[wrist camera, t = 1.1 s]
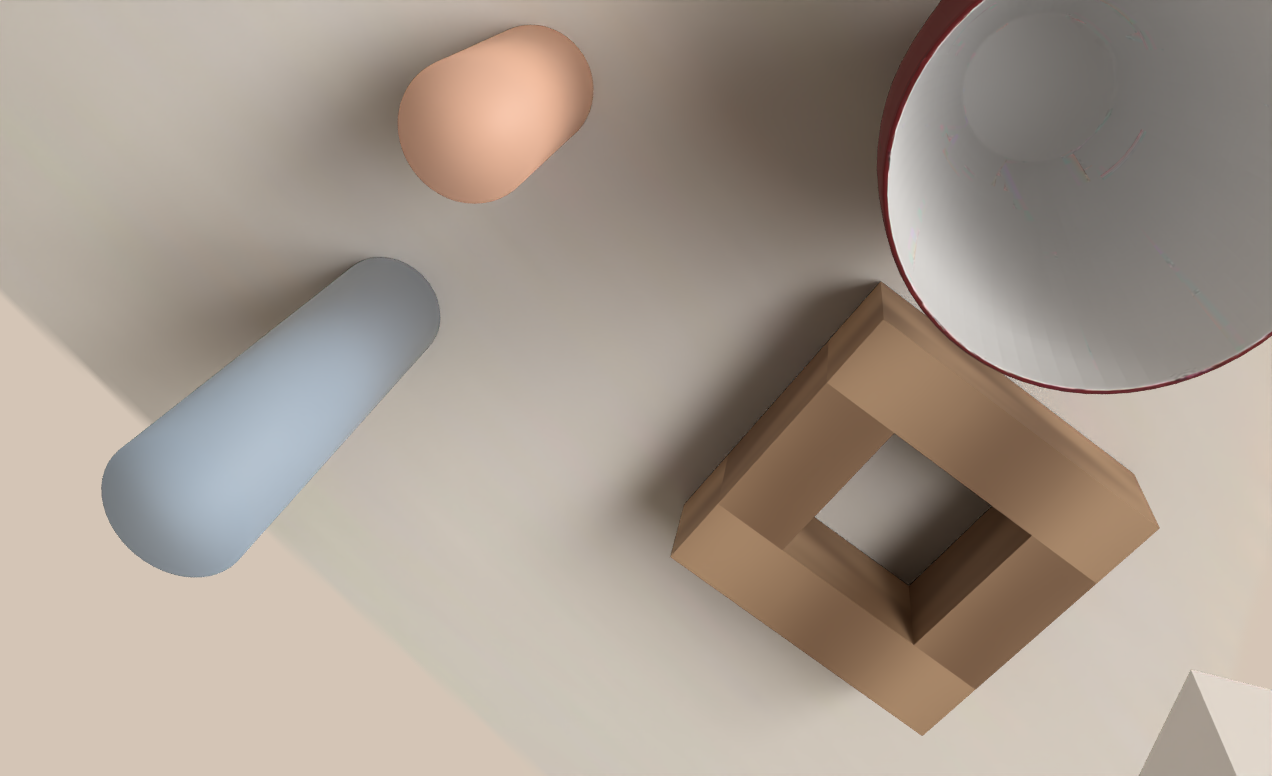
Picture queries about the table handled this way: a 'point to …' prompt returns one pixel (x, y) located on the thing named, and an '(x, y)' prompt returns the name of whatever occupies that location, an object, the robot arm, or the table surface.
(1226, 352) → the mug
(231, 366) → the long peg
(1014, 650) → the socket block
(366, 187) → the table surface
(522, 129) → the short peg
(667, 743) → the table surface
